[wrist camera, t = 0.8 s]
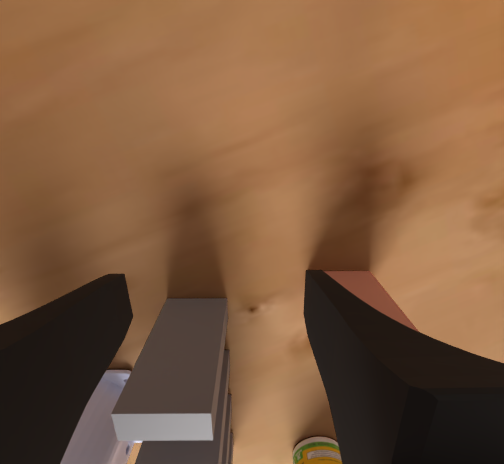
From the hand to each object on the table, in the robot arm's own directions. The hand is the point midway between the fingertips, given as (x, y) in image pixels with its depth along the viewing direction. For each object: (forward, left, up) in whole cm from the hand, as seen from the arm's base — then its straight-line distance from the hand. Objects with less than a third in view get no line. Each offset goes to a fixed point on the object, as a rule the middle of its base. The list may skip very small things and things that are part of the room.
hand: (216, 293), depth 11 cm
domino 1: (-8, +3, -10) cm, 14 cm away
